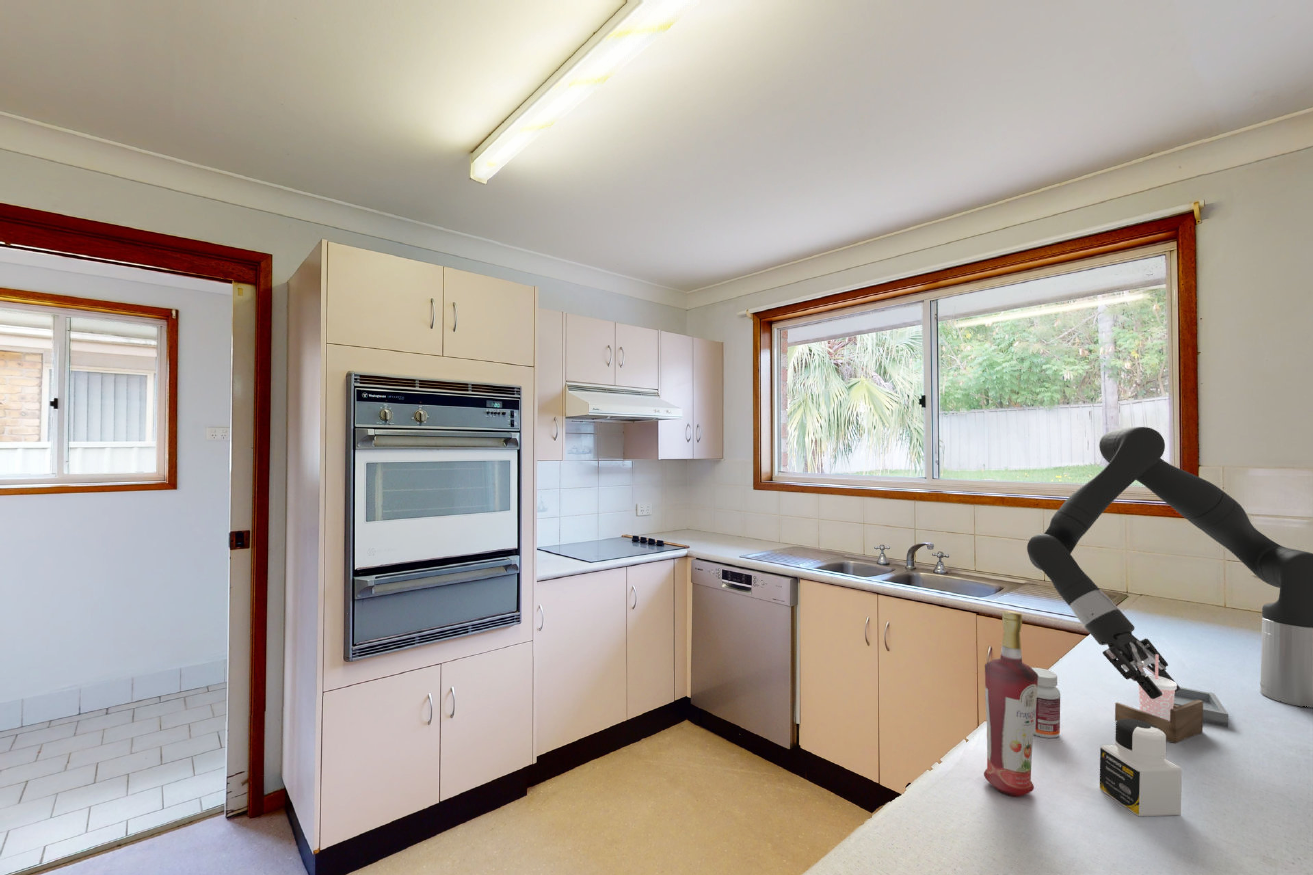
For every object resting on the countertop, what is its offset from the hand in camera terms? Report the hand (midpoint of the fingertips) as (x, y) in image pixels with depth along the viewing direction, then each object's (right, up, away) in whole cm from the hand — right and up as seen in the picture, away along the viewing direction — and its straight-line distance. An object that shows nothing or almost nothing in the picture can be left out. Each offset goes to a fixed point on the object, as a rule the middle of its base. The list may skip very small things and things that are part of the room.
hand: (1166, 693), depth 116 cm
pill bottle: (-26, -6, -2) cm, 27 cm away
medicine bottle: (-25, -6, -24) cm, 36 cm away
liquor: (-44, -6, -22) cm, 49 cm away
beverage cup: (-1, -7, +2) cm, 7 cm away
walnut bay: (-1, -7, +2) cm, 7 cm away
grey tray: (+12, -7, +10) cm, 17 cm away
